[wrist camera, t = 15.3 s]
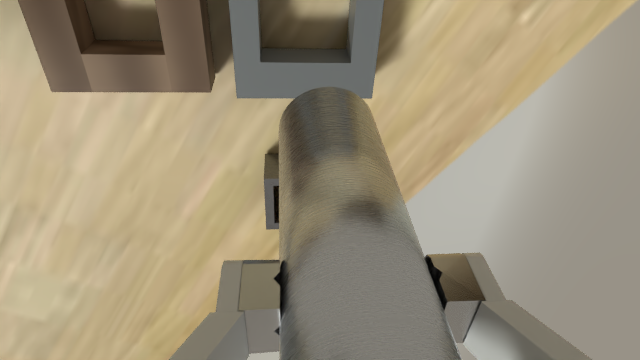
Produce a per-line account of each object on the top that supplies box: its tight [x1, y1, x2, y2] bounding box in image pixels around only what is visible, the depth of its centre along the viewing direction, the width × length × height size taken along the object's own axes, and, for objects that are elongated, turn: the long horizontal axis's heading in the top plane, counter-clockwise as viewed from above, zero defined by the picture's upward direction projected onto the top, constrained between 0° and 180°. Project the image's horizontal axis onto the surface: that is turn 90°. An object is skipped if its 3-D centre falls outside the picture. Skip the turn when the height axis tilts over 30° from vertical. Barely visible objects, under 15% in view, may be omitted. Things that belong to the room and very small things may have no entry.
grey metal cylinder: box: [279, 87, 462, 360], centre depth 13 cm, size 4×4×12 cm
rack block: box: [229, 0, 384, 98], centre depth 32 cm, size 11×13×3 cm
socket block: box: [18, 0, 215, 92], centre depth 31 cm, size 12×12×3 cm
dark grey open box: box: [264, 154, 279, 229], centre depth 42 cm, size 6×6×4 cm
